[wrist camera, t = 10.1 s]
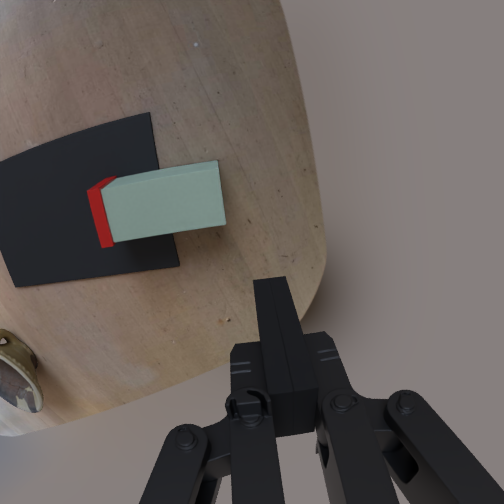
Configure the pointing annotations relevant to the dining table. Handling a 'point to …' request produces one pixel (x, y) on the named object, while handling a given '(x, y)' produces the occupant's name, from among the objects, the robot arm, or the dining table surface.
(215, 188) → the container
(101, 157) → the mat
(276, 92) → the dining table surface
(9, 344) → the bowl
